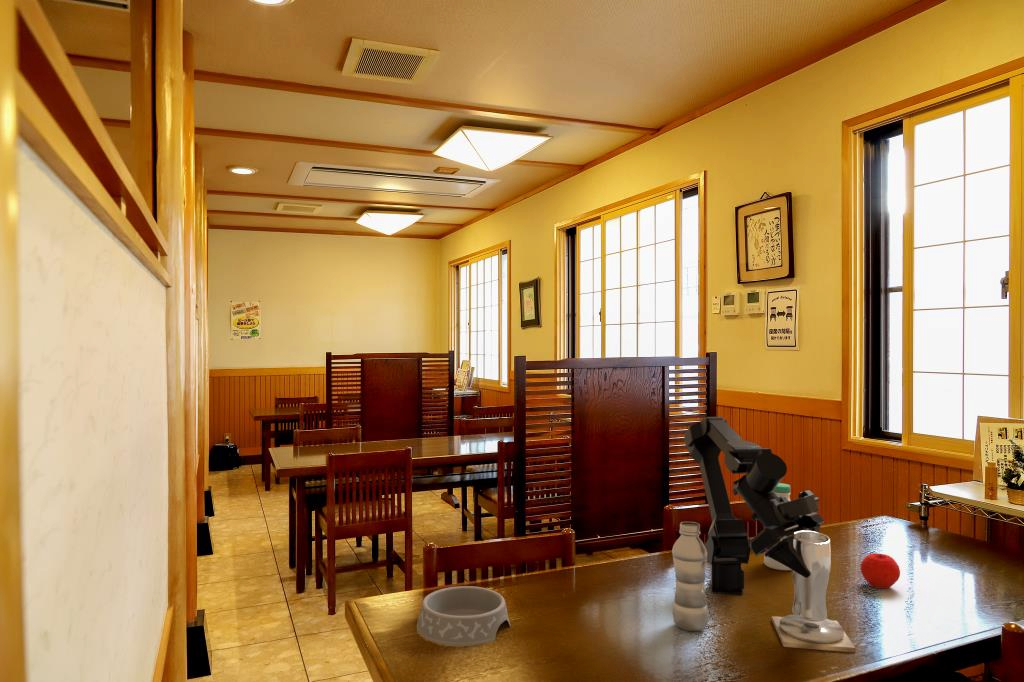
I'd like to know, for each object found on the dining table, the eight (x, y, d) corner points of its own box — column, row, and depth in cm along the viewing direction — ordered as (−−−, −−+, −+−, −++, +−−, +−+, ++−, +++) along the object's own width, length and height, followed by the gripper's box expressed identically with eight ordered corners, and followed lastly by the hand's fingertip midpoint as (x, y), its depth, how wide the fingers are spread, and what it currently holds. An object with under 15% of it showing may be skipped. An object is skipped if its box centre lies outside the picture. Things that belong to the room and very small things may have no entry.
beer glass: (834, 624, 125) (836, 545, 124) (793, 621, 126) (795, 543, 125) (824, 606, 132) (826, 531, 130) (786, 603, 133) (787, 529, 132)
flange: (786, 641, 124) (786, 635, 124) (774, 617, 134) (774, 611, 134) (851, 646, 122) (851, 640, 122) (834, 621, 132) (834, 616, 132)
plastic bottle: (703, 638, 127) (702, 530, 127) (667, 630, 130) (667, 525, 130) (712, 626, 132) (712, 522, 132) (678, 618, 136) (678, 518, 136)
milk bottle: (800, 564, 169) (800, 483, 169) (794, 573, 163) (794, 489, 163) (767, 559, 173) (767, 480, 173) (760, 567, 167) (760, 485, 167)
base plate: (783, 646, 123) (783, 642, 123) (771, 620, 135) (771, 616, 135) (855, 652, 121) (855, 647, 121) (837, 625, 133) (837, 620, 133)
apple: (883, 595, 148) (882, 561, 148) (851, 583, 155) (851, 551, 155) (908, 590, 151) (908, 556, 151) (876, 579, 159) (876, 547, 159)
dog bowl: (523, 617, 137) (522, 590, 137) (481, 655, 121) (481, 625, 121) (448, 604, 144) (448, 578, 144) (400, 638, 128) (399, 609, 128)
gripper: (765, 484, 125) (824, 560, 117) (814, 471, 137) (871, 539, 129) (726, 518, 131) (780, 592, 123) (777, 503, 143) (829, 569, 135)
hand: (817, 572), depth 127 cm, fingers closed on beer glass, 7 cm apart
